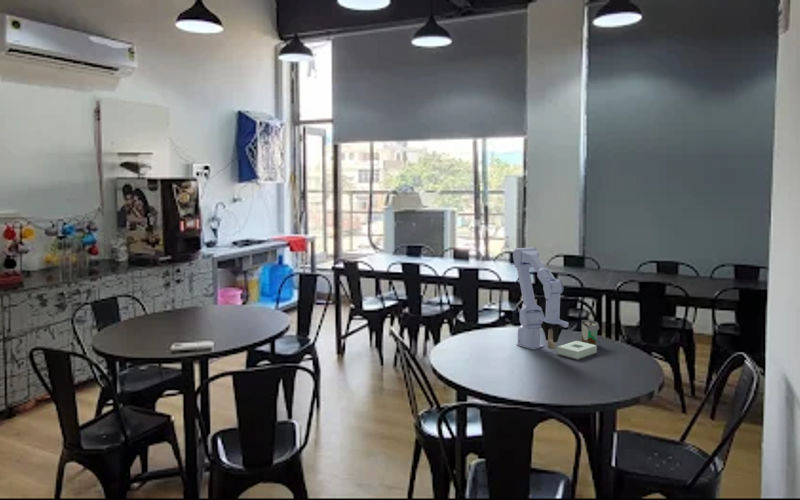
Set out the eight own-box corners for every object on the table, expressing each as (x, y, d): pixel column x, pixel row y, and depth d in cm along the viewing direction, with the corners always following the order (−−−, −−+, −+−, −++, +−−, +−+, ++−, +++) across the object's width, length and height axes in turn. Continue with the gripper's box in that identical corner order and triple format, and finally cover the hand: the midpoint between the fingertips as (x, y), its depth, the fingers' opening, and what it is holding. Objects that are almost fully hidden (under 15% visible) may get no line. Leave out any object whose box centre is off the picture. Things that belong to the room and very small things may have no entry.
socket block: (557, 354, 268) (557, 346, 267) (576, 348, 277) (576, 340, 276) (577, 359, 260) (577, 351, 260) (596, 353, 269) (596, 345, 269)
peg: (546, 347, 265) (546, 329, 264) (550, 346, 267) (551, 327, 266) (552, 349, 262) (553, 330, 261) (557, 347, 264) (557, 329, 263)
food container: (602, 348, 276) (603, 326, 275) (588, 348, 276) (588, 326, 275) (594, 341, 288) (594, 319, 287) (580, 341, 288) (581, 319, 287)
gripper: (532, 307, 265) (531, 339, 267) (561, 313, 254) (560, 346, 256) (542, 305, 270) (542, 336, 272) (571, 310, 259) (570, 343, 261)
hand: (551, 340), depth 264 cm, fingers closed on peg, 3 cm apart
